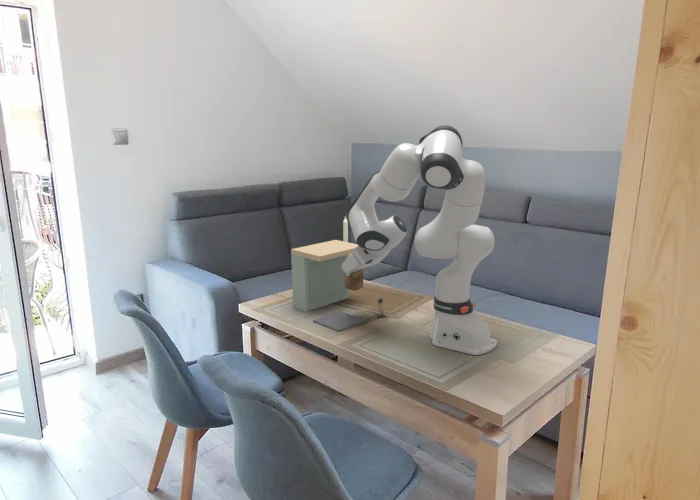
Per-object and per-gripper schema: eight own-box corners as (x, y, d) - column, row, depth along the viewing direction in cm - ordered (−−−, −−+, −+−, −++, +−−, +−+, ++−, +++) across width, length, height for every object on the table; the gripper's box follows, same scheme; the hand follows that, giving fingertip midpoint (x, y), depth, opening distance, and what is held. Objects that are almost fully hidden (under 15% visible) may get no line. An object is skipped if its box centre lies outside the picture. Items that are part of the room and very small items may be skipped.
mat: (366, 321, 185) (366, 319, 185) (339, 331, 175) (339, 330, 175) (340, 312, 195) (340, 310, 195) (312, 321, 185) (312, 320, 185)
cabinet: (364, 302, 206) (364, 245, 200) (321, 317, 189) (319, 256, 184) (336, 293, 217) (335, 239, 212) (293, 307, 201) (291, 249, 195)
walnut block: (363, 287, 188) (363, 259, 185) (355, 290, 184) (354, 261, 181) (352, 285, 191) (352, 257, 188) (344, 288, 187) (344, 259, 184)
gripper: (385, 238, 187) (364, 260, 195) (351, 248, 171) (330, 271, 179) (395, 252, 185) (373, 273, 193) (362, 263, 169) (340, 285, 178)
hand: (352, 272), depth 186 cm, fingers closed on walnut block, 5 cm apart
